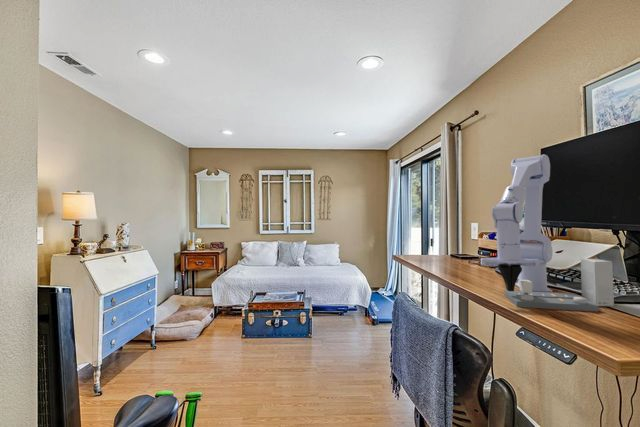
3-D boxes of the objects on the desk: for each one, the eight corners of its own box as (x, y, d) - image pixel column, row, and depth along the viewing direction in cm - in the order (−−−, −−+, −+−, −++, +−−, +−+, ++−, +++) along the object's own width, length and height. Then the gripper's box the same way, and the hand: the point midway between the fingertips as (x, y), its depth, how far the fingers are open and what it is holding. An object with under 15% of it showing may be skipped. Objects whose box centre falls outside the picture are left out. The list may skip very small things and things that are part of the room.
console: (504, 295, 92) (504, 286, 92) (574, 298, 86) (574, 289, 87) (517, 306, 81) (516, 296, 81) (598, 311, 75) (598, 300, 75)
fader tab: (519, 293, 87) (519, 279, 87) (528, 294, 86) (527, 279, 86) (523, 296, 84) (523, 282, 84) (532, 297, 83) (532, 282, 83)
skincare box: (615, 306, 78) (613, 261, 78) (596, 306, 79) (594, 261, 79) (598, 300, 84) (596, 258, 84) (581, 299, 85) (579, 258, 85)
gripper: (483, 245, 85) (485, 292, 85) (543, 245, 80) (545, 295, 80) (478, 242, 92) (480, 286, 92) (533, 242, 87) (535, 288, 87)
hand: (510, 290), depth 86 cm, fingers closed
